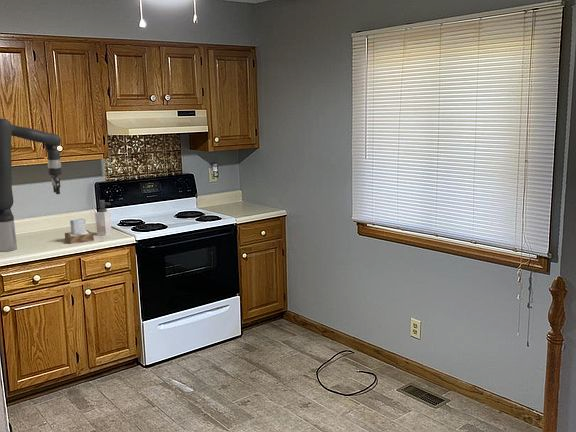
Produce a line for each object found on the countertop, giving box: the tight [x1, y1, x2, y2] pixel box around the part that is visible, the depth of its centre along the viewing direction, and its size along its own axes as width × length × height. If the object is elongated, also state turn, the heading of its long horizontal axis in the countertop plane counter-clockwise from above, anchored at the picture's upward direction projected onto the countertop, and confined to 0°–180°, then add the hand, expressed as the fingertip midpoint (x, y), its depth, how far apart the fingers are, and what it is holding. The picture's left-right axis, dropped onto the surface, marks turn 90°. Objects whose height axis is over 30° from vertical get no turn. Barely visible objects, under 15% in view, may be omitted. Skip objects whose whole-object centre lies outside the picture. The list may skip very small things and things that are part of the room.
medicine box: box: [69, 217, 87, 235], centre depth 355 cm, size 8×4×9 cm, turn 136°
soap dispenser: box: [95, 199, 113, 236], centre depth 369 cm, size 6×9×22 cm
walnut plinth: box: [64, 229, 95, 245], centre depth 357 cm, size 14×14×4 cm
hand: (56, 193), depth 355 cm, fingers open, 8 cm apart
